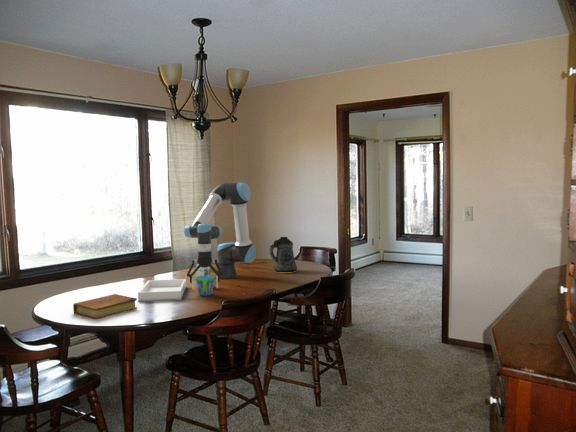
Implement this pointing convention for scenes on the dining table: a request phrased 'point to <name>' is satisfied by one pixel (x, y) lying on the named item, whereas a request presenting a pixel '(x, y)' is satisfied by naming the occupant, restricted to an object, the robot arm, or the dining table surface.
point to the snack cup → (205, 285)
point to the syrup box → (203, 271)
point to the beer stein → (283, 255)
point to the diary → (104, 306)
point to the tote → (162, 290)
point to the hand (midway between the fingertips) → (205, 288)
